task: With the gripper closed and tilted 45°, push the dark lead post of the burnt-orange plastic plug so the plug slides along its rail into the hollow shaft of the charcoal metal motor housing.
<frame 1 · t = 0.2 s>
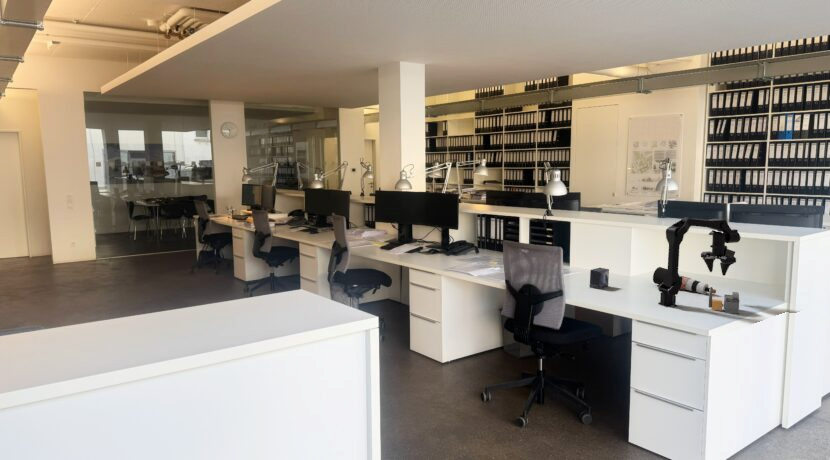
hand: (717, 273, 288), 15 cm above the table, tool pointing down, fingers open, 9 cm apart
housing: (730, 310, 272), on the table
striped tapered cylinder: (684, 290, 316), on the table
plug: (716, 302, 274), point 3 cm above the table, slide at -6.0 cm
small box: (599, 287, 325), on the table
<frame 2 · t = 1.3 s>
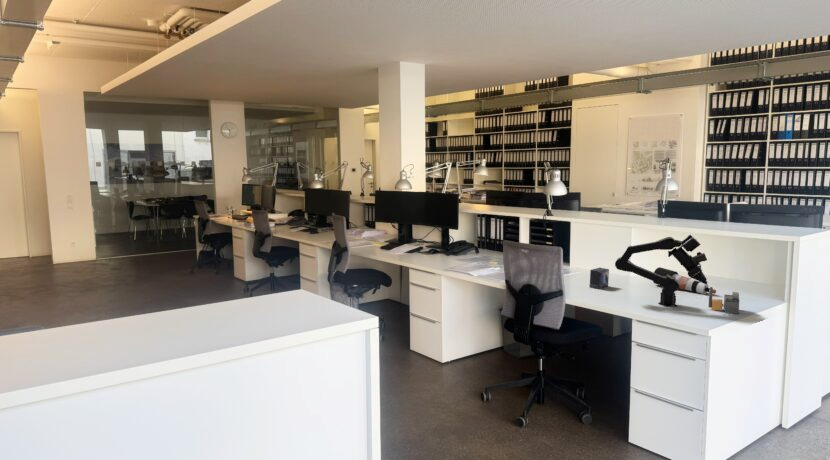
hand: (706, 281, 275), 13 cm above the table, tool tilted 45°, fingers open, 8 cm apart
nothing on the table moved.
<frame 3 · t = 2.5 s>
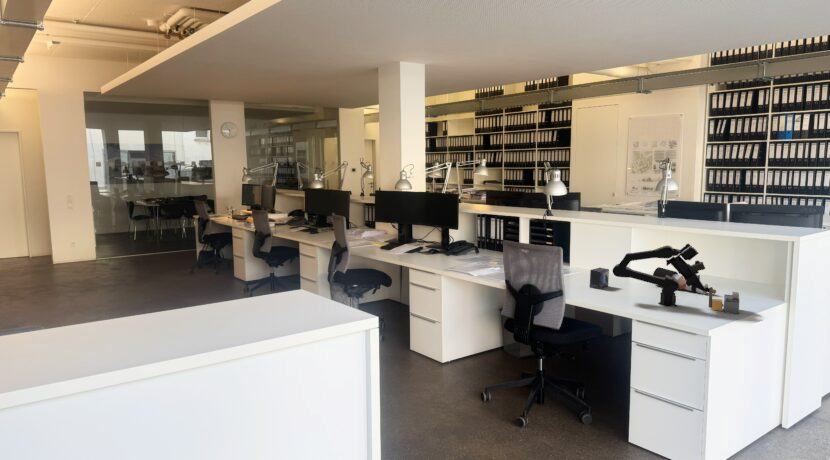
hand: (704, 290, 276), 9 cm above the table, tool tilted 45°, fingers closed
nothing on the table moved.
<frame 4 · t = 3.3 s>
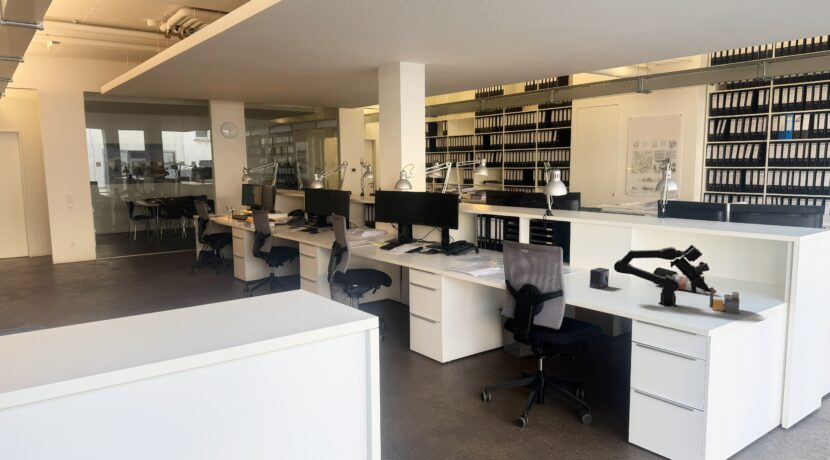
hand: (709, 291, 275), 9 cm above the table, tool tilted 45°, fingers closed
plug: (717, 303, 274), point 3 cm above the table, slide at -5.6 cm, touching gripper
everything else where it was.
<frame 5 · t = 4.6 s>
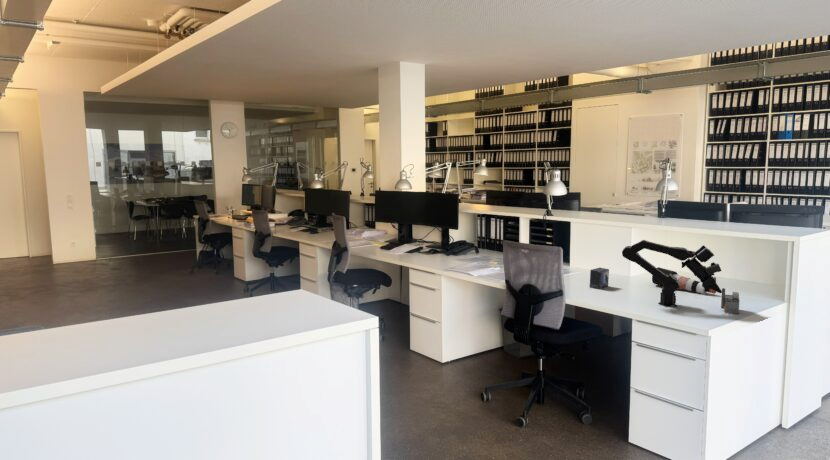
hand: (721, 292, 273), 9 cm above the table, tool tilted 45°, fingers closed, pressing on plug
plug: (728, 304, 272), point 3 cm above the table, slide at -0.6 cm, touching gripper
everything else where it was.
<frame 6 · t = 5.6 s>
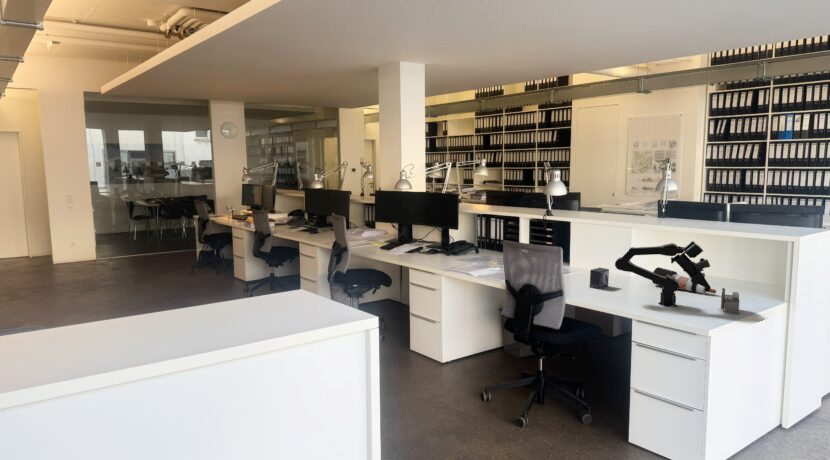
hand: (709, 288, 275), 10 cm above the table, tool tilted 45°, fingers closed
plug: (728, 304, 272), point 3 cm above the table, slide at -0.7 cm
everything else where it was.
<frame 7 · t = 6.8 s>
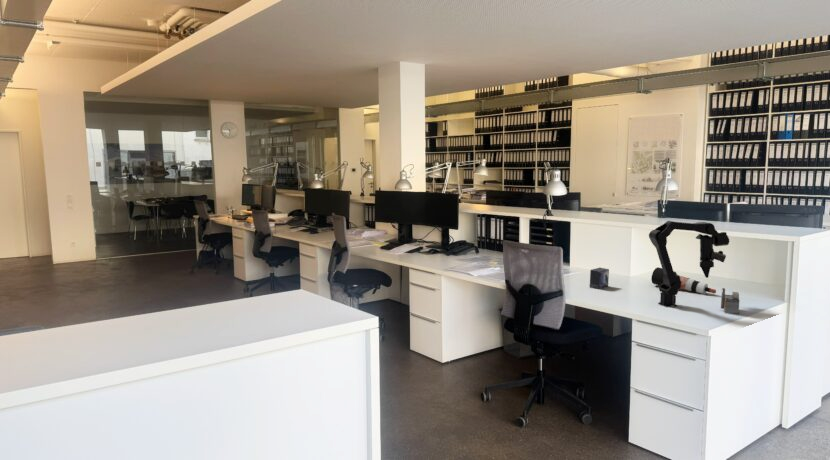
hand: (706, 277, 284), 14 cm above the table, tool pointing down, fingers closed
nothing on the table moved.
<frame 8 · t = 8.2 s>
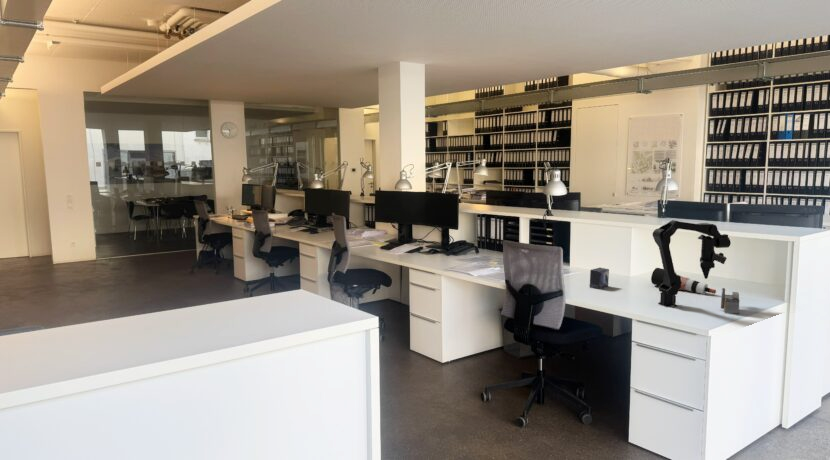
hand: (706, 278, 285), 13 cm above the table, tool pointing down, fingers closed
at the end: plug slide at -0.7 cm; the gripper is holding nothing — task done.
